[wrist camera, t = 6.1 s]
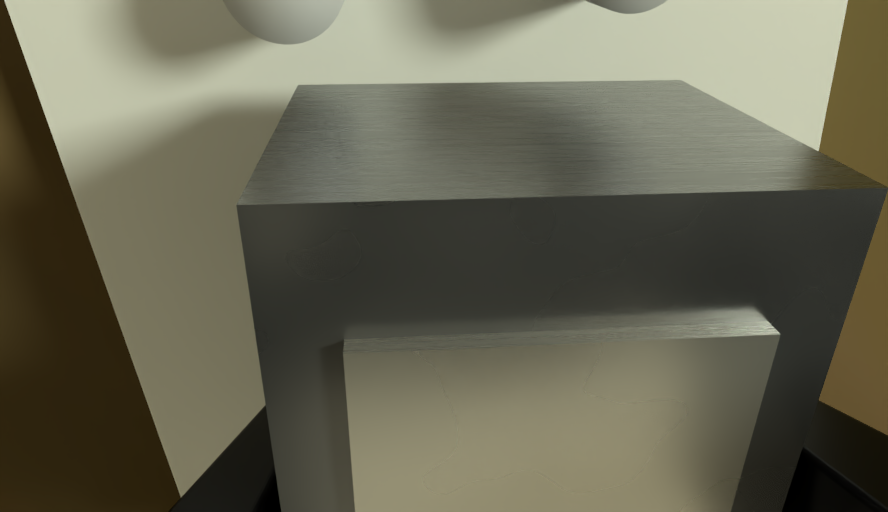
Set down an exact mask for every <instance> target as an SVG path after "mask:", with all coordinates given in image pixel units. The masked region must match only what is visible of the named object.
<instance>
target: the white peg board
mask: <svg viewBox="0 0 888 512" xmlns="http://www.w3.org/2000/svg"><path fill="white" fill-rule="evenodd" d="M4 1H5V4H6V6H7V9H8V12H9V15H10V18H11V21H12V23H13V26H14V29H15V32H16V35H17V37H18V40H19V43H20V46H21V49H22V52H23V54H24V57H25V60H26V63H27V66H28V68H29V71H30V74H31V77H32V80H33V83H34V85H35V88H36V91H37V94H38V97H39V99H40V102H41V105H42V108H43V111H44V114H45V116H46V119H47V122H48V125H49V128H50V130H51V133H52V136H53V139H54V142H55V145H56V147H57V150H58V153H59V156H60V159H61V161H62V164H63V167H64V170H65V173H66V176H67V178H68V181H69V184H70V187H71V190H72V192H73V195H74V198H75V201H76V204H77V206H78V209H79V212H80V215H81V218H82V221H83V223H84V226H85V229H86V232H87V235H88V237H89V240H90V243H91V246H92V249H93V252H94V254H95V257H96V260H97V263H98V266H99V268H100V271H101V274H102V277H103V280H104V283H105V285H106V288H107V291H108V294H109V297H110V299H111V302H112V305H113V308H114V311H115V314H116V316H117V319H118V322H119V325H120V328H121V330H122V333H123V336H124V339H125V342H126V345H127V347H128V350H129V353H130V356H131V359H132V361H133V364H134V367H135V370H136V373H137V376H138V378H139V381H140V384H141V387H142V390H143V392H144V395H145V398H146V401H147V404H148V406H149V409H150V412H151V415H152V418H153V421H154V423H155V426H156V429H157V432H158V435H159V437H160V440H161V443H162V446H163V449H164V452H165V454H166V457H167V460H168V463H169V466H170V468H171V471H172V474H173V477H174V480H175V483H176V485H177V488H178V491H179V494H180V497H182V496H183V495H184V494H185V493H186V492H187V490H188V489H189V488H190V487H191V486H192V485H193V484H194V483H195V482H196V481H197V479H198V478H199V477H200V476H201V475H202V474H203V473H204V472H205V471H206V470H207V468H208V467H209V466H210V465H211V464H212V463H213V462H214V461H215V460H216V459H217V457H218V456H219V455H220V454H221V453H222V452H223V451H224V450H225V449H226V448H227V446H228V445H229V444H230V443H231V442H232V441H233V440H234V439H235V438H236V437H237V435H238V434H239V433H240V432H241V431H242V430H243V429H244V428H245V427H246V426H247V424H248V423H249V422H250V421H251V420H252V419H253V418H254V417H255V416H256V415H257V413H258V412H259V411H260V410H261V409H262V408H263V407H264V406H265V405H266V404H265V397H264V391H263V384H262V377H261V370H260V363H259V356H258V350H257V343H256V336H255V329H254V322H253V316H252V309H251V302H250V295H249V288H248V282H247V275H246V268H245V261H244V254H243V248H242V241H241V234H240V227H239V220H238V214H237V207H236V205H237V203H238V201H239V199H240V197H241V195H242V193H243V191H244V189H245V187H246V185H247V183H248V181H249V179H250V177H251V175H252V173H253V172H254V170H255V168H256V166H257V164H258V162H259V160H260V158H261V156H262V154H263V152H264V150H265V148H266V146H267V144H268V142H269V140H270V138H271V137H272V135H273V133H274V131H275V129H276V127H277V125H278V123H279V121H280V119H281V117H282V115H283V113H284V111H285V109H286V107H287V105H288V103H289V102H290V100H291V98H292V96H293V94H294V92H295V90H296V88H297V86H298V85H323V84H403V83H483V82H564V81H644V80H682V81H684V82H686V83H688V84H689V85H691V86H693V87H695V88H697V89H699V90H701V91H703V92H705V93H707V94H709V95H711V96H713V97H715V98H716V99H718V100H720V101H722V102H724V103H726V104H728V105H730V106H732V107H734V108H736V109H738V110H740V111H742V112H743V113H745V114H747V115H749V116H751V117H753V118H755V119H757V120H759V121H761V122H763V123H765V124H767V125H769V126H770V127H772V128H774V129H776V130H778V131H780V132H782V133H784V134H786V135H788V136H790V137H792V138H794V139H796V140H797V141H799V142H801V143H803V144H805V145H807V146H809V147H811V148H813V149H815V150H817V151H819V146H820V140H821V135H822V130H823V125H824V120H825V115H826V110H827V105H828V100H829V94H830V89H831V84H832V79H833V74H834V69H835V64H836V59H837V53H838V48H839V43H840V38H841V33H842V28H843V23H844V18H845V12H846V7H847V2H848V0H4Z"/></svg>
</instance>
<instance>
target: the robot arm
mask: <svg viewBox="0 0 888 512" xmlns="http://www.w3.org/2000/svg"><path fill="white" fill-rule="evenodd" d="M168 512H281V506H280V499H279V493H278V486H277V479H276V472H275V465H274V459H273V452H272V445H271V438H270V431H269V425H268V418H267V411H266V405H265V406H264V407H263V408H262V409H261V410H260V411H259V412H258V413H257V415H256V416H255V417H254V418H253V419H252V420H251V421H250V422H249V423H248V424H247V426H246V427H245V428H244V429H243V430H242V431H241V432H240V433H239V434H238V435H237V437H236V438H235V439H234V440H233V441H232V442H231V443H230V444H229V445H228V446H227V448H226V449H225V450H224V451H223V452H222V453H221V454H220V455H219V456H218V457H217V459H216V460H215V461H214V462H213V463H212V464H211V465H210V466H209V467H208V468H207V470H206V471H205V472H204V473H203V474H202V475H201V476H200V477H199V478H198V479H197V481H196V482H195V483H194V484H193V485H192V486H191V487H190V488H189V489H188V490H187V492H186V493H185V494H184V495H183V496H182V497H181V498H180V499H179V500H178V501H177V503H176V504H175V505H174V506H173V507H172V508H171V509H170V510H169V511H168ZM782 512H888V435H886V434H884V433H882V432H880V431H878V430H876V429H874V428H872V427H870V426H868V425H866V424H864V423H862V422H860V421H858V420H856V419H854V418H852V417H850V416H849V415H847V414H845V413H843V412H841V411H839V410H837V409H835V408H833V407H831V406H829V405H827V404H825V403H823V402H821V401H819V400H818V403H817V406H816V409H815V412H814V415H813V418H812V421H811V424H810V427H809V430H808V433H807V436H806V439H805V442H804V445H803V448H802V451H801V454H800V457H799V460H798V463H797V466H796V469H795V472H794V475H793V478H792V481H791V484H790V487H789V490H788V493H787V496H786V499H785V502H784V505H783V509H782Z"/></svg>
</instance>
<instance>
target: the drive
mask: <svg viewBox="0 0 888 512" xmlns="http://www.w3.org/2000/svg"><path fill="white" fill-rule="evenodd" d="M887 191H888V187H886V186H884V185H882V184H880V183H878V182H877V181H875V180H873V179H871V178H869V177H867V176H865V175H863V174H861V173H859V172H857V171H855V170H853V169H851V168H850V167H848V166H846V165H844V164H842V163H840V162H838V161H836V160H834V159H832V158H830V157H828V156H826V155H824V154H823V153H821V152H819V151H817V150H815V149H813V148H811V147H809V146H807V145H805V144H803V143H801V142H799V141H797V140H796V139H794V138H792V137H790V136H788V135H786V134H784V133H782V132H780V131H778V130H776V129H774V128H772V127H770V126H769V125H767V124H765V123H763V122H761V121H759V120H757V119H755V118H753V117H751V116H749V115H747V114H745V113H743V112H742V111H740V110H738V109H736V108H734V107H732V106H730V105H728V104H726V103H724V102H722V101H720V100H718V99H716V98H715V97H713V96H711V95H709V94H707V93H705V92H703V91H701V90H699V89H697V88H695V87H693V86H691V85H689V84H688V83H686V82H684V81H682V80H644V81H564V82H483V83H403V84H323V85H298V86H297V88H296V90H295V92H294V94H293V96H292V98H291V100H290V102H289V103H288V105H287V107H286V109H285V111H284V113H283V115H282V117H281V119H280V121H279V123H278V125H277V127H276V129H275V131H274V133H273V135H272V137H271V138H270V140H269V142H268V144H267V146H266V148H265V150H264V152H263V154H262V156H261V158H260V160H259V162H258V164H257V166H256V168H255V170H254V172H253V173H252V175H251V177H250V179H249V181H248V183H247V185H246V187H245V189H244V191H243V193H242V195H241V197H240V199H239V201H238V203H237V205H236V207H237V214H238V220H239V227H240V234H241V241H242V248H243V254H244V261H245V268H246V275H247V282H248V288H249V295H250V302H251V309H252V316H253V322H254V329H255V336H256V343H257V350H258V356H259V363H260V370H261V377H262V384H263V391H264V397H265V404H266V411H267V418H268V425H269V431H270V438H271V445H272V452H273V459H274V465H275V472H276V479H277V486H278V493H279V499H280V506H281V512H782V509H783V505H784V502H785V499H786V496H787V493H788V490H789V487H790V484H791V481H792V478H793V475H794V472H795V469H796V466H797V463H798V460H799V457H800V454H801V451H802V448H803V445H804V442H805V439H806V436H807V433H808V430H809V427H810V424H811V421H812V418H813V415H814V412H815V409H816V406H817V403H818V400H819V397H820V394H821V391H822V388H823V385H824V381H825V378H826V375H827V372H828V369H829V366H830V363H831V360H832V357H833V354H834V351H835V348H836V345H837V342H838V339H839V336H840V333H841V330H842V327H843V324H844V321H845V318H846V315H847V312H848V309H849V306H850V303H851V300H852V297H853V294H854V291H855V288H856V285H857V282H858V279H859V276H860V273H861V270H862V267H863V264H864V260H865V257H866V254H867V251H868V248H869V245H870V242H871V239H872V236H873V233H874V230H875V227H876V224H877V221H878V218H879V215H880V212H881V209H882V206H883V203H884V200H885V197H886V194H887Z"/></svg>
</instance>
